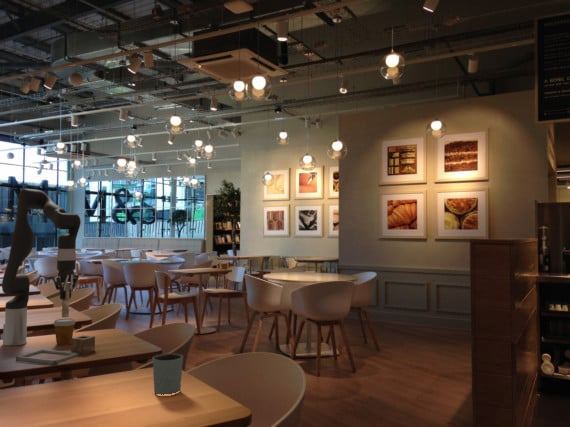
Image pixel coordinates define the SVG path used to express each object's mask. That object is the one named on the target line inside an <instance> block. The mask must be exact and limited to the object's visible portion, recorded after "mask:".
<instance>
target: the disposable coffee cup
mask: <svg viewBox="0 0 570 427" xmlns="http://www.w3.org/2000/svg"><path fill="white" fill-rule="evenodd" d="M75 324H76V320H75V318H69V317H66V318H57V319H55V320H54V322H53V326H54V330H55V331H54V334H55V342H56V346H68V345H71V338H74V337H73V335H74V328H75Z"/></svg>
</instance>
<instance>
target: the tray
mask: <svg viewBox="0 0 570 427" xmlns="http://www.w3.org/2000/svg"><path fill="white" fill-rule="evenodd" d="M42 353H45V354H54V355H64V356H63V357H59V358H55V359H50V358H38V357H31V356H35V355H38V354H42ZM78 356H80V354H79V353H76V352H71V351H64V350H54V349H53V350H52V349H39V350H34V351H31V352H28V353H25V354H21V355H18V356H15V361H16V362H20V363H32V364H42V365H50V366H56V365H58V364H59V363H60V362H64V361H66V360H70V359H72V358H75V357H78Z"/></svg>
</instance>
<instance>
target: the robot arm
mask: <svg viewBox="0 0 570 427" xmlns="http://www.w3.org/2000/svg"><path fill="white" fill-rule="evenodd" d="M29 210H43V211H42V212H43V214H44V216H45V217H46V219H48V220H50V221H51V222H52V223H53V225H54V227H55V228H57V229H59V230H67V233H65V234H61V235H59V236H58V241H57V243H58V245H57V249H58V250H57V254H56V270H57V271H58V273H57V276H56V277H52V280H53V284H54V286H55V289H56V291H57V290H58V291H59V299H60V300H61V301H62V300H65V299H66V291H65V290H66V285H67V284H70V290H69V300H70V299H72V290H73V289H75V288H76V285H77V283H78V280H79V275H78V274H75V270H76V266H77V252H76V246H77V245H76V240H77V237H78V233H79V231H80V226H81V221H82V220H81V218H80V216H79V215H78V214H77V213H67V211H66V210H64V208H63V207H61V206H60V205H57V204H56V203H55V202H54V201H53V200H52V199H51V198H50V197H49V196H48V194H47V193H46V192H44V191H42V190H40V189H32V188H22V189H21V190H20V192H19V195H18V197H17V206H16V216H15V217H16V218H15V224H14V228H13V234H12V239H11V244H10V249H9V254H8V260H7V264H6V267H5V271H4V274H3V276H2V281H1V288H2V293H3V294H5V295H14V297H13V298H12V299H10V300H8V301H7V302H5V307H4V308H5V312H4V315H5V318H4V324H3V329H2V345H4V346H8V347H9V346H10V347H11V346H13V347H14V346H21V345H25V344H27V331H28V329H27V328H28V326H27V325H28V303H29V300H30V289H31V288H30V286H31V284H30V283H31V282H30V278H29V276H28V275H27V274H26V273H19V274H18V271H19V269H20V266H21V265H22V264H23V262H24V261H25V260H26V259H27V258H28V257H29V255H30V254H31V252H32V251H33V248H34V242H35V233H34V231H33V229H32V226H31V225H30V224H31V223H30V222H29V218H28V214H29V213H28V212H29Z"/></svg>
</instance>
